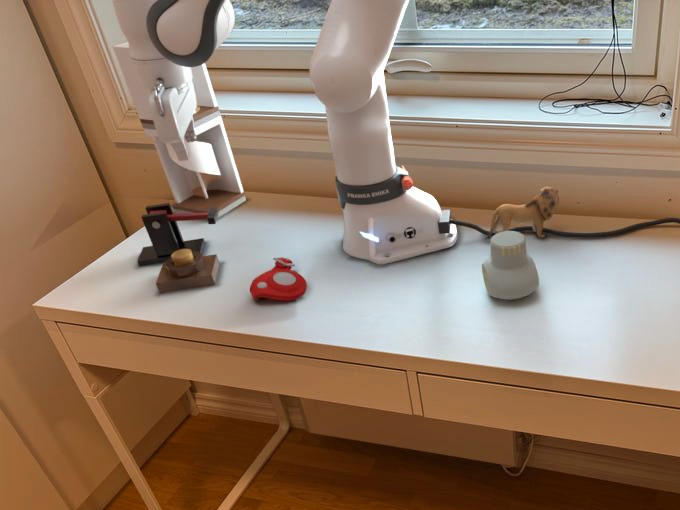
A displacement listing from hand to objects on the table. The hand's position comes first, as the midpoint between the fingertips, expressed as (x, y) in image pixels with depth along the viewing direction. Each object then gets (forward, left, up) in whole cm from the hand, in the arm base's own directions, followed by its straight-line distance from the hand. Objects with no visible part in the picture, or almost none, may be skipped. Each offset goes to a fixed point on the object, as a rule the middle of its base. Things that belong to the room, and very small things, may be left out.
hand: (188, 149), depth 128 cm
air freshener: (-52, +33, -21) cm, 65 cm away
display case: (+5, -21, -21) cm, 30 cm away
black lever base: (+10, 0, -20) cm, 23 cm away
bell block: (+5, +11, -20) cm, 23 cm away
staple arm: (+5, 0, -14) cm, 15 cm away
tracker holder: (-13, +20, -21) cm, 31 cm away
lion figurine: (-59, +14, -21) cm, 64 cm away
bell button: (+5, +11, -17) cm, 20 cm away
